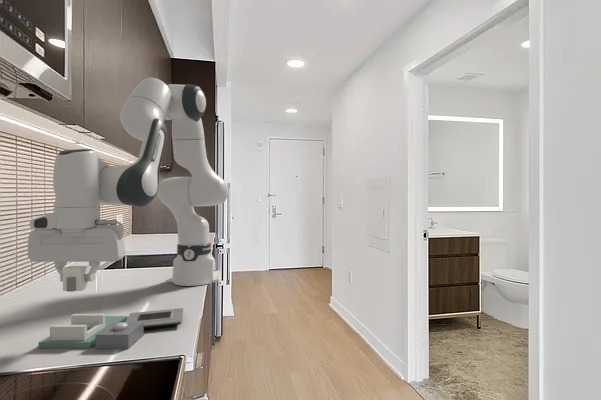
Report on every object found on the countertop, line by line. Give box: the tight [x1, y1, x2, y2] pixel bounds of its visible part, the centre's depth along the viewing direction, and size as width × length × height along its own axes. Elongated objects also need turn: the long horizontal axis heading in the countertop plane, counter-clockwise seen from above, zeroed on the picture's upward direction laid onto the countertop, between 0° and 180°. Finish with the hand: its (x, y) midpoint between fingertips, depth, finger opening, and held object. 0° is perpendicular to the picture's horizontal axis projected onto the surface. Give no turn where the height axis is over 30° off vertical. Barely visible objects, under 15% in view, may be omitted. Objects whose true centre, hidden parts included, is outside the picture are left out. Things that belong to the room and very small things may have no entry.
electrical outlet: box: [125, 307, 184, 329], centre depth 89 cm, size 13×10×2 cm
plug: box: [62, 264, 93, 293], centre depth 79 cm, size 5×4×5 cm
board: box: [37, 313, 128, 349], centre depth 83 cm, size 16×11×4 cm
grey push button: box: [95, 322, 145, 350], centre depth 78 cm, size 7×7×4 cm
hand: (77, 281), depth 79 cm, fingers closed on plug, 4 cm apart
